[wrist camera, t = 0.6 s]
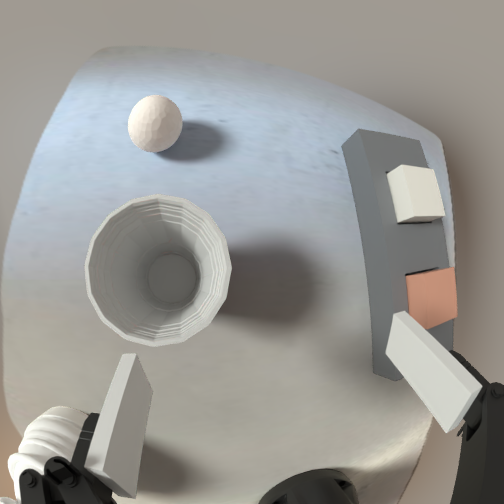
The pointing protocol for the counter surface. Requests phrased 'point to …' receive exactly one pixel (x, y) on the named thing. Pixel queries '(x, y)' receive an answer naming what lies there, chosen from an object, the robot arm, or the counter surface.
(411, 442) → the counter surface
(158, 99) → the egg
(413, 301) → the terracotta key
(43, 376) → the counter surface
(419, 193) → the offwhite key
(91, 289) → the plastic cup
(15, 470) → the honey pot
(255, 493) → the counter surface
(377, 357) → the key console
